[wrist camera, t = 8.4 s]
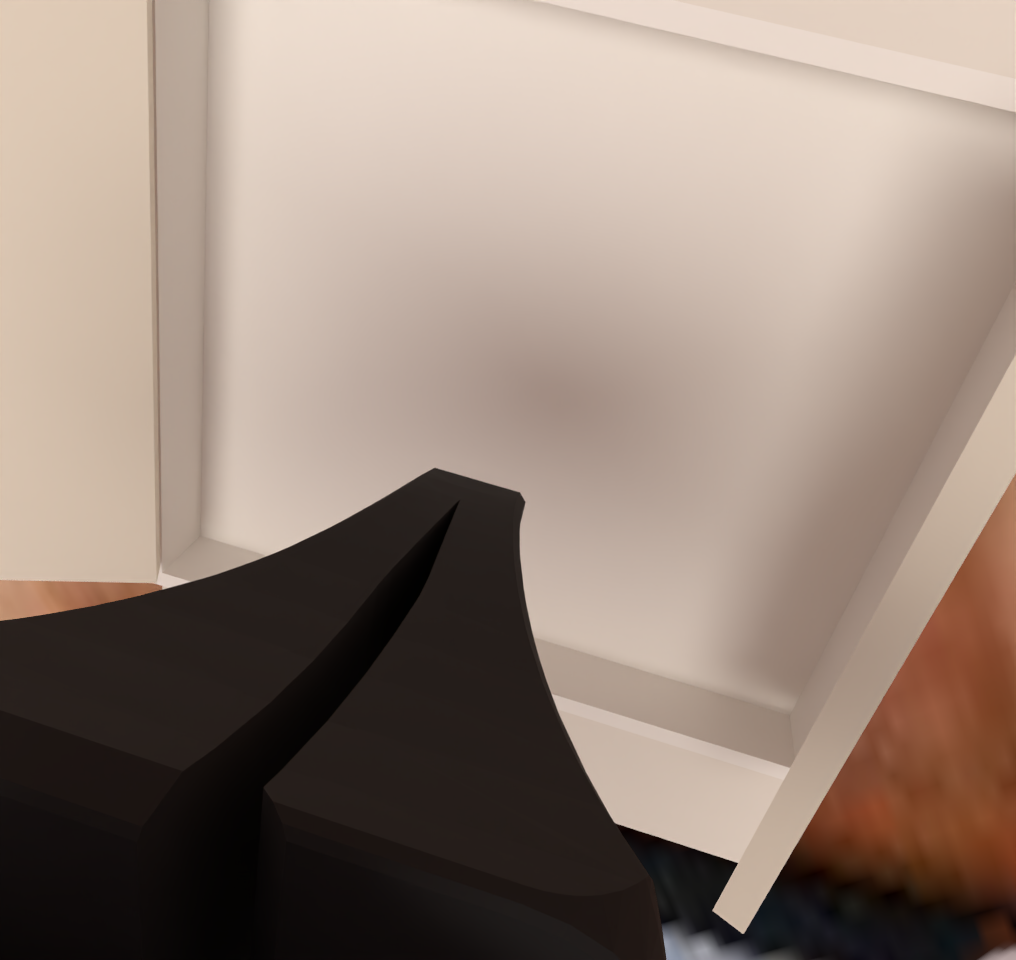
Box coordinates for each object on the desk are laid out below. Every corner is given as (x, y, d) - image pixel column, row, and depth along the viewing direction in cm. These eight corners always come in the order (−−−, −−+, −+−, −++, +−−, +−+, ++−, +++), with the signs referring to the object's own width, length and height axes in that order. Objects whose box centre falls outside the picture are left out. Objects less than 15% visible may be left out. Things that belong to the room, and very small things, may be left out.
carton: (756, 803, 22) (760, 870, 20) (191, 625, 23) (149, 672, 21) (1245, -118, 12) (1338, -146, 10) (201, -332, 13) (123, -388, 11)
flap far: (-45, 578, 18) (-36, 561, 18) (156, 583, 19) (160, 566, 19) (-168, -139, 11) (-149, -136, 12) (145, -68, 13) (150, -67, 13)
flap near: (789, 780, 17) (816, 798, 17) (712, 910, 14) (743, 934, 14) (1130, 165, 11) (1180, 177, 11) (1116, 169, 8) (1184, 187, 8)
